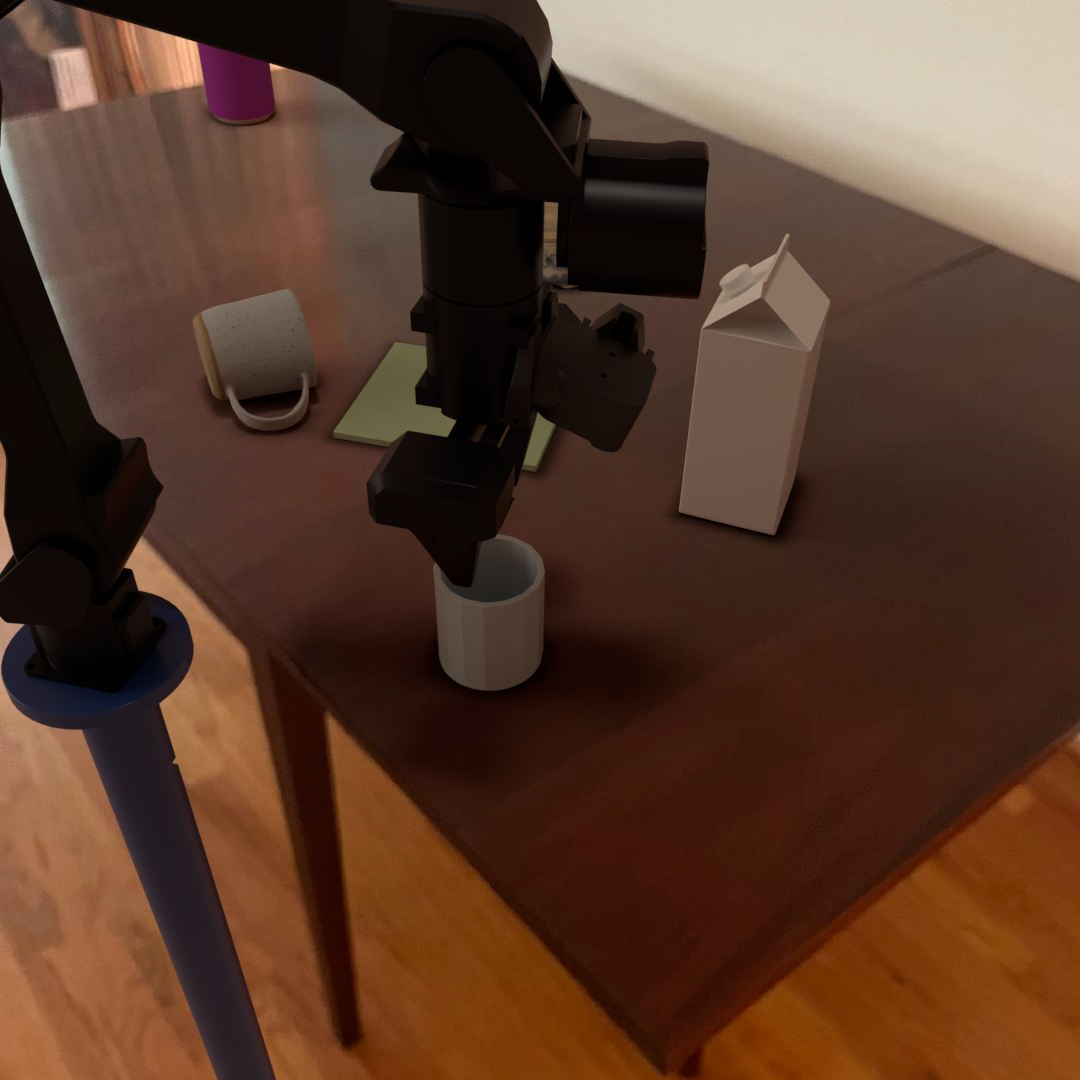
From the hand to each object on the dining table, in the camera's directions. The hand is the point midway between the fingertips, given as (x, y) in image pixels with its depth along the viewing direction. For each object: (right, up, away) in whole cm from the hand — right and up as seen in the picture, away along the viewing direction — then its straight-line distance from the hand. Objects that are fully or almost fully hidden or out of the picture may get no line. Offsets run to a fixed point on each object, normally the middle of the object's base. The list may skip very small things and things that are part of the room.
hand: (486, 532), depth 65 cm
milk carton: (+17, +3, +19) cm, 26 cm away
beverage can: (-35, +53, +71) cm, 95 cm away
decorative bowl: (+2, +29, +47) cm, 56 cm away
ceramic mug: (-20, +12, +27) cm, 35 cm away
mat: (-4, +11, +27) cm, 29 cm away
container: (0, -7, +7) cm, 10 cm away
